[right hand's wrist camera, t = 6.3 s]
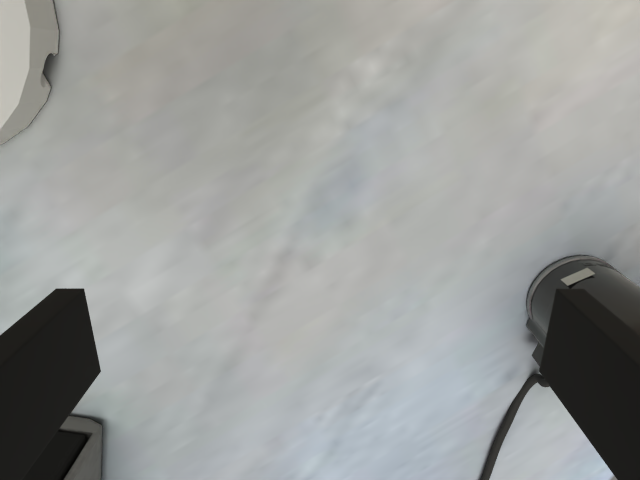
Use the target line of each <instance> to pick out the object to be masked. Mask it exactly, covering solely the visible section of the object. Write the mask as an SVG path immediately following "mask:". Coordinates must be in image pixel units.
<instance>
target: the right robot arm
mask: <svg viewBox="0 0 640 480" xmlns="http://www.w3.org/2000/svg"><path fill="white" fill-rule="evenodd" d="M100 372H101V370H100V365H99V360H98V355H97V350H96V345H95V341H94V336H93V331H92V326H91V321H90V316H89V311H88V306H87V301H86V296H85V292H84V289H55V290H54V291H53V292H52V293H51V294H49V295H48V296H47V297H46V298H45V299H43V300H42V301H41V302H40V303H39V304H37V305H36V306H35V307H34V308H33V309H31V310H30V311H29V312H28V313H27V314H25V315H24V316H23V317H22V318H21V319H19V320H18V321H17V322H16V323H15V324H13V325H12V326H11V327H10V328H9V329H8V330H6V331H5V332H4V333H3V334H2V335H0V480H23V478H24V477H25V475H26V474H27V473H28V471H29V470H30V469H31V467H32V466H33V464H34V463H35V462H36V460H37V459H38V457H39V456H40V455H41V453H42V452H43V451H44V449H45V448H46V446H47V445H48V444H49V442H50V441H51V439H52V438H53V437H54V435H55V434H56V433H57V431H58V430H59V428H60V427H61V426H62V424H63V423H64V422H65V420H66V419H67V417H68V416H69V415H70V413H71V412H72V410H73V409H74V408H75V406H76V405H77V404H78V402H79V401H80V399H81V398H82V397H83V395H84V394H85V393H86V391H87V390H88V388H89V387H90V386H91V384H92V383H93V381H94V380H95V379H96V377H97V376H98V375H99V373H100ZM539 372H540V373H541V375H542V376H543V377H544V379H545V380H546V381H547V383H548V384H549V386H550V387H551V388H552V390H553V391H554V393H555V394H556V395H557V397H558V398H559V399H560V401H561V402H562V404H563V405H564V406H565V408H566V409H567V410H568V412H569V413H570V415H571V416H572V417H573V419H574V420H575V422H576V423H577V424H578V426H579V427H580V428H581V430H582V431H583V433H584V434H585V435H586V437H587V438H588V439H589V441H590V442H591V444H592V445H593V446H594V448H595V449H596V451H597V452H598V453H599V455H600V456H601V457H602V459H603V460H604V462H605V463H606V464H607V466H608V467H609V469H610V470H611V471H612V473H613V474H614V475H615V477H616V478H617V479H618V480H640V335H638V334H637V333H636V332H635V331H634V330H632V329H631V328H630V327H629V326H628V325H626V324H625V323H624V322H623V321H622V320H621V319H619V318H618V317H617V316H616V315H615V314H613V313H612V312H611V311H610V310H609V309H607V308H606V307H605V306H604V305H603V304H601V303H600V302H599V301H598V300H597V299H595V298H594V297H593V296H592V295H591V294H589V293H588V292H587V291H586V290H585V289H556V292H555V296H554V301H553V306H552V311H551V316H550V321H549V326H548V331H547V336H546V341H545V345H544V350H543V355H542V360H541V365H540V370H539Z"/></svg>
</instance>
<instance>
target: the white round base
mask: <svg viewBox="0 0 640 480" xmlns="http://www.w3.org/2000/svg"><path fill="white" fill-rule="evenodd" d="M58 39H59V29H58V24H57V19H56V14H55V9H54V4H53V0H0V145H1V144H4V143H5V142H7V141H8V140H9V139H11V138H12V137H14V136H15V135H16V134H18V133H19V132H21V131H22V130H24V129H25V128H26V127H28V126H29V124H30V123H31V122H32V120H33V119H34V118H35V116H36V115H37V113H38V112H39V111H40V109H41V108H42V107H43V105H44V104H45V102H46V101H47V98H48V95H49V92H50V89H51V86H50V84H49V83H48V81H47V79H46V78H45V76H44V74H43V73H42V71H43V68H44V63H45V60H46V58H47V56H48V55H49V54H50V53H52V54H53V55H54V56H55V55H56V54H58Z"/></svg>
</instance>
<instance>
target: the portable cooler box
mask: <svg viewBox="0 0 640 480" xmlns="http://www.w3.org/2000/svg"><path fill="white" fill-rule="evenodd" d="M101 460H102V425H100V424H98V423H96V422H95V421H93V420H91V419H87V418H81V417H74V416H68V417H67V419H66V420H65V422H64V423H63V424H62V426H61V427H60V428H59V430H58V431H57V433H56V434H55V435H54V437H53V438H52V439H51V441H50V442H49V444H48V445H47V446H46V448H45V449H44V451H43V452H42V453H41V455H40V456H39V457H38V459H37V460H36V462H35V463H34V464H33V466H32V467H31V469H30V470H29V471H28V473H27V474H26V475H25V477H24V478H23V480H101Z"/></svg>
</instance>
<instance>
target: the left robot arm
mask: <svg viewBox="0 0 640 480" xmlns="http://www.w3.org/2000/svg"><path fill="white" fill-rule="evenodd" d="M556 289H585V290H586V291H587V292H588V293H589V294H591V295H592V296H593V297H594V298H595V299H597V300H598V301H599V302H600V303H601V304H603V305H604V306H605V307H606V308H607V309H609V310H610V311H611V312H612V313H613V314H615V315H616V316H617V317H618V318H619V319H621V320H622V321H623V322H624V323H625V324H626V325H628V326H629V327H630V328H631V329H632V330H634V331H635V332H636V333H637V334H638V335H640V287H639V286H638V285H637V284H635V283H634V282H632V281H631V280H629V279H628V278H626V277H625V276H623V275H622V274H621V273H620V272H618V271H617V270H615V269H614V268H613V267H612V266H611V265H609V264H608V263H606V262H605V261H603V260H601V259H598V258H595V257H591V256H573V257H568V258H565V259H562V260H560V261H558V262H556V263H554V264H552V265H550V266H549V267H548V268H546V269H545V270H544V271H543V272H542V273H541V274H540V275H539V276H538V277H537V278H536V280H535V281H534V282H533V284H532V286H531V288H530V290H529V293H528V297H527V311H528V315H529V317H530V318H529V321H528V323H527V325H526V326H527V328H528V329H529V330H530V332H531V333H532V334H533V335H534V337H535V338H536V339H537V340H538V342H539V343H538V345H537V347H536V349H535V350H534V352H533V354H532V356H533V358H534V359H535V360H536V362H537V363H538V365H539V366H540V365H541V360H542V355H543V350H544V345H545V341H546V336H547V331H548V326H549V321H550V316H551V311H552V306H553V301H554V296H555V292H556ZM537 382H538V383H539V384H540V385H541V386H543V387H549V384H548V383H547V381H546V380H545V379H544V377H543V376H542V375H541V374H534V375H533V376H531V377H530V378H529V379H527V381H526V382H525V384H524V385H523V387H522V388H521V390H520V391H519V393H518V394H517V396H516V397H515V399H514V400H513V402H512V404H511V406H510V408H509V410H508V413H507V415H506V417H505V419H504V421H503V424H502V426H501V428H500V430H499V432H498V434H497V436H496V439H495V441H494V443H493V446H492V449H491V452H490V454H489V457H488V460H487V463H486V466H485V469H484V472H483V475H482V477H481V480H489V478H490V476H491V473H492V470H493V467H494V464H495V461H496V459H497V456H498V453H499V450H500V448H501V445H502V443H503V441H504V438H505V436H506V434H507V432H508V430H509V428H510V426H511V424H512V422H513V419H514V417H515V415H516V413H517V411H518V408H519V406H520V404H521V402H522V400H523V398H524V397H525V395H526V393H527V392H528V391H529V389H530V388H531V387H532V386H533V385H534V384H535V383H537Z"/></svg>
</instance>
